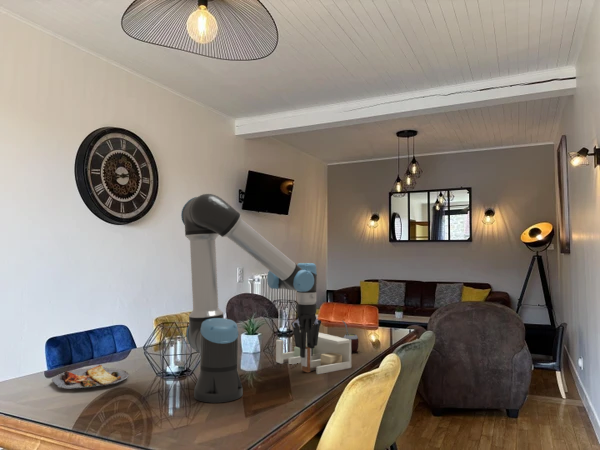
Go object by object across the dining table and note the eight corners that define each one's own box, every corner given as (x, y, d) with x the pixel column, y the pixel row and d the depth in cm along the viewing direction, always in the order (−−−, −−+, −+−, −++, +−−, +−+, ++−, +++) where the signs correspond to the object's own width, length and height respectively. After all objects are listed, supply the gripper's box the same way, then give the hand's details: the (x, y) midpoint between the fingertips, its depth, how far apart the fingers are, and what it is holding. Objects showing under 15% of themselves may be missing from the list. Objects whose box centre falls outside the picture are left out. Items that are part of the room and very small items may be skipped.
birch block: (309, 373, 174) (309, 348, 174) (300, 370, 178) (300, 346, 179) (342, 367, 183) (342, 344, 184) (332, 364, 188) (332, 341, 189)
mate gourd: (358, 351, 215) (358, 318, 216) (358, 354, 207) (358, 320, 208) (342, 350, 216) (342, 318, 217) (342, 354, 208) (342, 320, 209)
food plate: (45, 379, 163) (45, 369, 164) (112, 370, 178) (113, 360, 179) (63, 398, 144) (63, 387, 144) (137, 386, 159) (137, 376, 159)
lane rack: (317, 374, 173) (317, 344, 174) (276, 360, 196) (276, 333, 196) (351, 367, 183) (351, 339, 184) (308, 355, 206) (308, 330, 206)
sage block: (282, 365, 188) (282, 341, 188) (274, 362, 193) (274, 339, 193) (313, 359, 197) (313, 337, 198) (305, 356, 202) (305, 335, 203)
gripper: (297, 305, 171) (297, 370, 169) (327, 303, 179) (327, 365, 178) (285, 303, 177) (285, 366, 175) (315, 301, 185) (314, 361, 184)
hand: (306, 365), depth 176 cm, fingers closed on birch block
